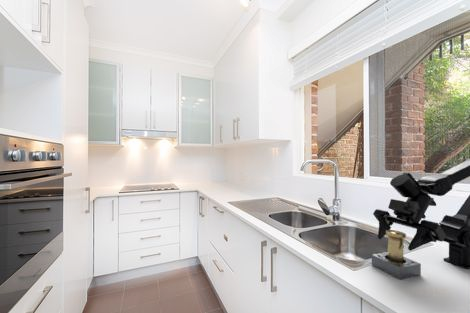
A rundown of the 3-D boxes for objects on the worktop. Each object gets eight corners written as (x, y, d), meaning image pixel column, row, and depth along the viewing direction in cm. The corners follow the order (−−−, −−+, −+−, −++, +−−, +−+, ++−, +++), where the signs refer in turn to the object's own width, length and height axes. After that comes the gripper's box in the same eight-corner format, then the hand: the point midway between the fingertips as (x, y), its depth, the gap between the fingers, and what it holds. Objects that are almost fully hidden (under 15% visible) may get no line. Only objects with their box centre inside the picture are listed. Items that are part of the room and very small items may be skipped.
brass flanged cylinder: (393, 264, 71) (393, 229, 71) (409, 272, 66) (409, 234, 66) (381, 267, 70) (381, 230, 70) (397, 275, 65) (398, 236, 65)
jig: (391, 261, 74) (391, 251, 74) (420, 275, 65) (420, 263, 65) (371, 265, 71) (371, 254, 71) (399, 279, 62) (399, 267, 62)
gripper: (376, 187, 78) (354, 219, 74) (439, 195, 61) (415, 238, 57) (390, 206, 81) (370, 239, 77) (455, 220, 64) (432, 263, 60)
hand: (393, 243), depth 68 cm, fingers open, 9 cm apart
